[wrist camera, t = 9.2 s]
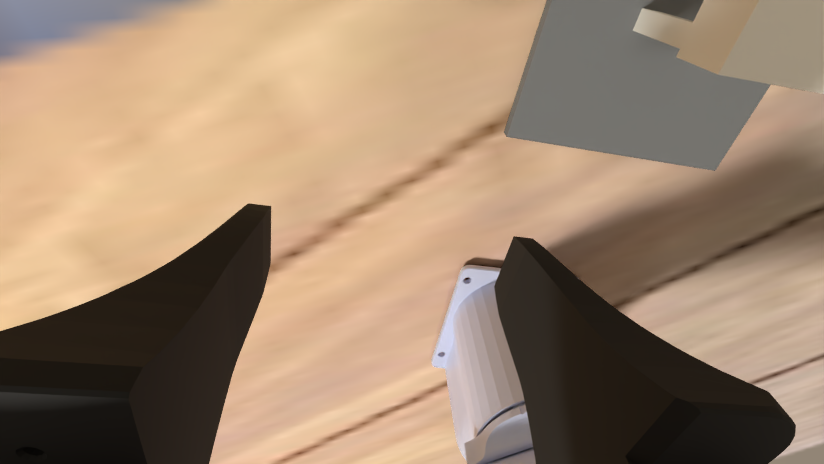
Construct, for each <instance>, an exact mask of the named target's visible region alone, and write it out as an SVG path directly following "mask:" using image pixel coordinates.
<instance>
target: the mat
mask: <svg viewBox="0 0 824 464" xmlns="http://www.w3.org/2000/svg"><path fill="white" fill-rule="evenodd" d="M703 1H704V0H547V2H546V5H545V8H544V11H543V14H542V17H541V20H540V23H539V26H538V29H537V32H536V35H535V38H534V42H533V45H532V48H531V51H530V54H529V57H528V60H527V63H526V66H525V69H524V72H523V75H522V78H521V82H520V85H519V88H518V91H517V94H516V97H515V100H514V103H513V106H512V109H511V112H510V115H509V118H508V121H507V125H506V128H505V131H504V133H505V135H506V136H507V137H511V138H517V139H523V140H529V141H535V142H542V143H548V144H554V145H560V146H566V147H572V148H578V149H585V150H591V151H597V152H603V153H609V154H615V155H621V156H628V157H634V158H640V159H646V160H652V161H658V162H664V163H671V164H677V165H683V166H689V167H695V168H701V169H707V170H713V171H715V170H716V169H717V167H718V166H719V164H720V162H721V161H722V159H723V158H724V156H725V155H726V153H727V152H728V150H729V149H730V147H731V145H732V144H733V142H734V141H735V139H736V138H737V136H738V135H739V133H740V131H741V130H742V128H743V127H744V125H745V124H746V122H747V121H748V119H749V118H750V116H751V114H752V113H753V111H754V110H755V108H756V107H757V105H758V104H759V102H760V100H761V99H762V97H763V96H764V94H765V93H766V91H767V90H768V88H769V87H770V85H771V84H766V83H761V82H755V81H750V80H744V79H739V78H734V77H728V76H723V75H718V74H715V73H713V72H711V71H708V70H706V69H703V68H701V67H699V66H696V65H694V64H691V63H689V62H687V61H684V60H682V59H680V58H677V57H676V56H677V54H678V52H679V50H680V49H679V48H676V47H674V46H671V45H669V44H666V43H663V42H661V41H658V40H656V39H653V38H651V37H648V36H645V35H643V34H640V33H638V32H635V31H633V28H634V26H635V24H636V21H637V19H638V17H639V14H640V12H641V10H642V8H644V9H649V10H654V11H658V12H663V13H666V14H670V15H673V16H677V17H680V18H684V19H687V20H691V21H694V19H695V17H696V15H697V13H698V11H699V9H700V7H701V5H702V3H703Z"/></svg>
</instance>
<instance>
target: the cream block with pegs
mask: <svg viewBox="0 0 824 464" xmlns="http://www.w3.org/2000/svg"><path fill="white" fill-rule="evenodd" d="M633 31H635V32H638V33H640V34H643V35H645V36H648V37H651V38H653V39H656V40H658V41H661V42H663V43H666V44H669V45H671V46H674V47H676V48H679V49H680V50H679V52H678V54H677V56H676V57H677V58H680V59H682V60H684V61H687V62H689V63H691V64H694V65H696V66H699V67H701V68H703V69H706V70H708V71H711V72H713V73H715V74H718V75H723V76H728V77H734V78H739V79H744V80H750V81H755V82H761V83H766V84H771V85H777V86H782V87H787V88H793V89H798V90H804V91H809V92H814V93H820V94H824V0H704V1H703V3H702V5H701V7H700V9H699V11H698V13H697V15H696V17H695V19H694V21H691V20H687V19H684V18H680V17H677V16H673V15H670V14H666V13H663V12H658V11H654V10H649V9H644V8H642V10H641V12H640V14H639V17H638V19H637V21H636V24H635V26H634V28H633Z"/></svg>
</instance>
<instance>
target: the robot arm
mask: <svg viewBox="0 0 824 464" xmlns="http://www.w3.org/2000/svg"><path fill="white" fill-rule="evenodd" d="M270 261H271V206H265V205H257V204H247V205H246V206H244V207H243V208H242V209H241V210H239V211H238V212H237V213H236V214H235V215H233V216H232V217H231V218H230V219H229V220H227V221H226V222H225V223H224V224H222V225H221V226H220V227H219V228H217V229H216V230H215V231H213V232H212V233H211V234H210V235H208V236H207V237H206V238H204V239H203V240H202V241H200V242H199V243H198V244H196V245H195V246H193V247H192V248H190V249H189V250H187V251H186V252H184V253H183V254H181V255H180V256H179V257H177V258H176V259H174V260H172V261H171V262H169V263H167V264H166V265H164V266H162V267H160V268H159V269H157V270H155V271H153V272H151V273H149V274H148V275H146V276H144V277H142V278H140V279H138V280H136V281H134V282H132V283H129V284H127V285H125V286H123V287H121V288H119V289H116V290H114V291H112V292H110V293H108V294H106V295H103V296H101V297H99V298H96V299H94V300H91V301H89V302H86V303H84V304H81V305H79V306H76V307H73V308H71V309H68V310H65V311H62V312H60V313H57V314H54V315H51V316H48V317H45V318H42V319H39V320H36V321H33V322H29V323H26V324H23V325H19V326H16V327H13V328H10V329H6V330H3V331H0V464H209V461H210V457H211V453H212V449H213V445H214V441H215V437H216V433H217V429H218V426H219V422H220V418H221V414H222V410H223V406H224V403H225V399H226V395H227V392H228V388H229V384H230V381H231V377H232V374H233V371H234V368H235V365H236V362H237V359H238V356H239V354H240V351H241V349H242V346H243V344H244V341H245V338H246V336H247V333H248V331H249V328H250V326H251V323H252V321H253V318H254V316H255V313H256V310H257V308H258V305H259V303H260V300H261V298H262V295H263V292H264V288H265V284H266V280H267V276H268V272H269V267H270ZM468 277H469V279H467V280H464V279H465V278H468ZM440 352H441V353H440ZM431 362H432V365H433V366H434V367H437V368H445V371H446V378H447V384H448V391H449V397H450V404H451V410H452V417H453V423H454V430H455V436H456V440H457V444H458V447H459V449H460V451H461V453H462V455H463V457H464V458H465V460H466V461H467V464H768V463H769V462H771V461H772V460H773V459H774V458H776V457H777V456H778V455H779V454H781V453H782V452H783V451H784V450H785V449H786V448H787V447H788V446H789V445H790V443H791V442H792V440H793V438H794V436H795V428H796V425H795V423H794V422H793V420H792V419H791V418H790V417H789V415H788V414H787V413H786V412H785V411H784V409H783V408H782V407H781V406H780V405H779V404H778V402H777V401H776V400H775V399H774V398H773V396H772V395H771V394H770V393H769V392H767V391H765V390H763V389H761V388H759V387H756V386H754V385H752V384H749V383H747V382H745V381H743V380H740V379H738V378H736V377H734V376H731V375H729V374H727V373H725V372H722V371H720V370H718V369H716V368H714V367H712V366H710V365H708V364H706V363H704V362H702V361H700V360H698V359H696V358H694V357H692V356H691V355H689V354H687V353H685V352H683V351H681V350H680V349H678V348H676V347H674V346H672V345H671V344H669V343H667V342H666V341H664V340H662V339H661V338H659V337H657V336H656V335H654V334H652V333H651V332H649V331H648V330H646V329H644V328H643V327H641V326H640V325H638V324H637V323H635V322H634V321H632V320H631V319H630V318H628V317H627V316H625V315H624V314H622V313H621V312H619V311H618V310H617V309H615V308H614V307H613V306H611V305H610V304H609V303H608V302H606V301H605V300H604V299H603V298H601V297H600V296H599V295H598V294H596V293H595V292H594V291H593V290H591V289H590V288H589V287H588V286H587V285H585V284H584V283H583V282H582V281H581V280H580V279H579V278H578V277H576V276H575V275H574V274H573V273H572V272H570V271H569V270H568V269H567V268H566V267H565V266H564V265H563V264H562V263H560V262H559V261H558V260H557V259H556V258H555V257H554V256H553V255H552V254H550V253H549V252H548V251H547V250H546V249H545V248H544V247H542V246H541V245H540V244H539V243H538V242H536V241H535V240H534V239H531V238H523V237H515V236H514V237H513V240H512V242H511V245H510V247H509V250H508V253H507V255H506V258H505V260H504V263H503V265H502V268H495V267H486V266H477V265H466V266H464V267H462V269H461V271H460V274H459V277H458V280H457V283H456V286H455V289H454V292H453V295H452V298H451V301H450V304H449V307H448V310H447V313H446V316H445V319H444V322H443V326H442V329H441V332H440V335H439V338H438V341H437V344H436V347H435V350H434V353H433V356H432V359H431Z"/></svg>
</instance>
